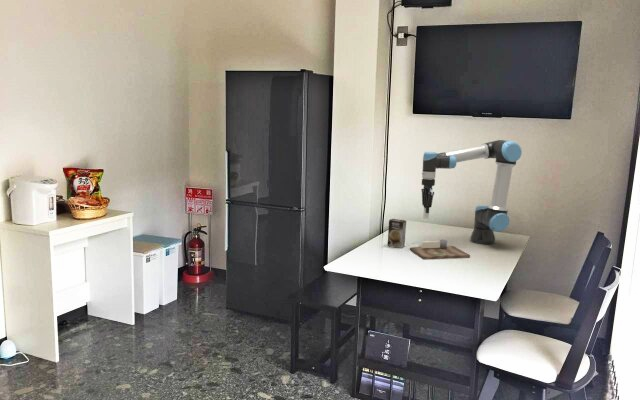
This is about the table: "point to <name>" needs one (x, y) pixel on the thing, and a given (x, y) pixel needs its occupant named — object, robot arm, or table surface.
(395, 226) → the coffee box
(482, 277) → the table surface
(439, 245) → the grey-tipped match
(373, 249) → the table surface
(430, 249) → the dial board
